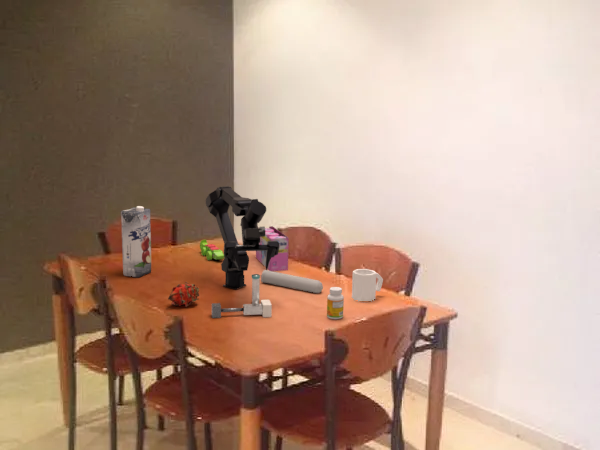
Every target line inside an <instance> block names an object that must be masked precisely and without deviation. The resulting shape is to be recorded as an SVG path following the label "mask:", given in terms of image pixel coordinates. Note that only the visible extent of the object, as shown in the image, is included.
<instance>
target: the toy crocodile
mask: <svg viewBox="0 0 600 450" xmlns="http://www.w3.org/2000/svg"><path fill="white" fill-rule="evenodd" d="M199 249H200V250H201V251H200V254H201V256H202V255H203V257H206V260H207V261H212V260H213V259H214V260H216V261H217V260H224V250H221V249H220V248H219V247H218V246H216V244H213V243H211V244H210V243H208V241H207V239H201V240H200V242H199Z"/></svg>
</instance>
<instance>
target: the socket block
mask: <svg viewBox="0 0 600 450" xmlns="http://www.w3.org/2000/svg"><path fill="white" fill-rule="evenodd" d="M260 304H262V305H263V314H262V318H272V313H273V312H272V309H273V307H272V306H273V304H272V302H271V300H270V299H260Z"/></svg>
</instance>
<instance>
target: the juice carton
mask: <svg viewBox="0 0 600 450" xmlns="http://www.w3.org/2000/svg"><path fill="white" fill-rule="evenodd" d="M120 217H121V218H120V219H121V247H122V249H121V250H122V253H121V254H122V271H123V272H122V273H123V276H124V277H131V276H132V277H133V278H141V277H143V276H145V274H146V275H148V274H150V273H152V242H151V241H152V237H151V236H152V234H151V233H152V232H151V229H152V228H151V208H145V207H144V206H141V205H137V206H136V207H130V209H123V210H121V211H120Z"/></svg>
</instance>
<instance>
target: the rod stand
mask: <svg viewBox="0 0 600 450" xmlns="http://www.w3.org/2000/svg"><path fill="white" fill-rule="evenodd" d="M243 311H244V308H243V307H230V308H229V307H228V308H226V307H225V308H222V305H221V302H215V303H211V318H212V319H220V318H222V313H236V312H237V313H239V312H242V313H243Z"/></svg>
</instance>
